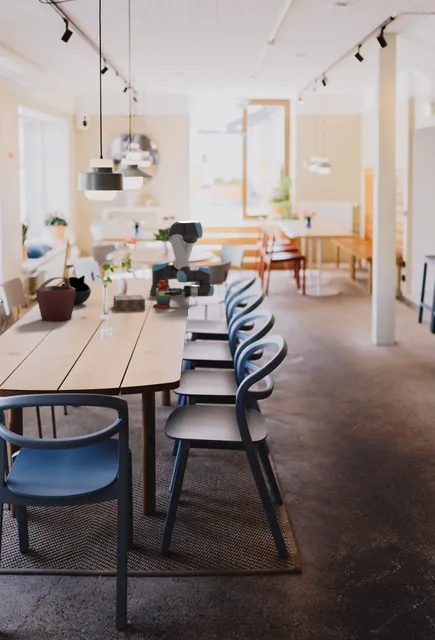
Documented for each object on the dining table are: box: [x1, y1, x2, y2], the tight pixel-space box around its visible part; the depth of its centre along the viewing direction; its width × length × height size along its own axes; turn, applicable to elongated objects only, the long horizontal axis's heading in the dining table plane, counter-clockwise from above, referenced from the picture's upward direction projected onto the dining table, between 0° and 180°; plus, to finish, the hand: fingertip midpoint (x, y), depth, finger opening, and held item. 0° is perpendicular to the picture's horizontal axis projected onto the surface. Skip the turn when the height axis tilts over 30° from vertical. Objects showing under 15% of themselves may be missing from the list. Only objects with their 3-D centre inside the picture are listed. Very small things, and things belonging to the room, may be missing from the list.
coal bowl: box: [60, 275, 92, 306], centre depth 519 cm, size 20×20×19 cm
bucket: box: [35, 276, 76, 323], centre depth 466 cm, size 24×22×25 cm
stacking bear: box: [152, 280, 172, 310], centre depth 512 cm, size 11×10×18 cm
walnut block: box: [113, 294, 146, 312], centre depth 508 cm, size 18×18×7 cm
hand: (157, 292), depth 511 cm, fingers open, 12 cm apart
